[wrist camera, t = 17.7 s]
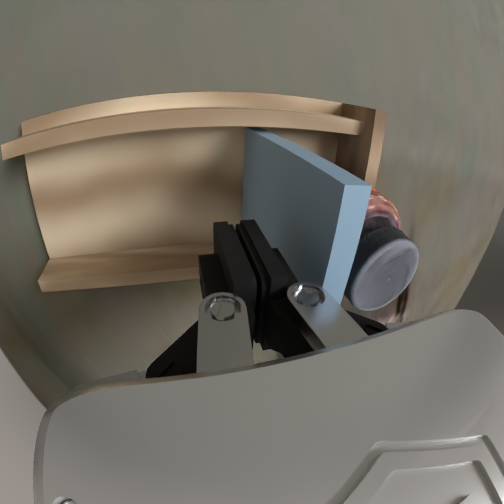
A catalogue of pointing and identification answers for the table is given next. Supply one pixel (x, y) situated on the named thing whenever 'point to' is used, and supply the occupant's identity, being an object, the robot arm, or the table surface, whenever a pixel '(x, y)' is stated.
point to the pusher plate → (304, 208)
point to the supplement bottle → (380, 257)
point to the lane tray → (165, 176)
